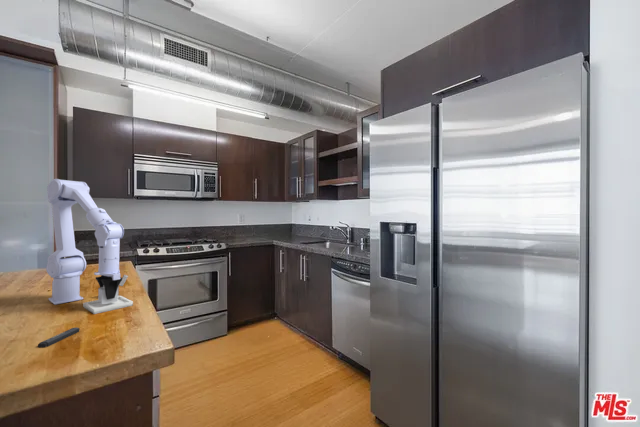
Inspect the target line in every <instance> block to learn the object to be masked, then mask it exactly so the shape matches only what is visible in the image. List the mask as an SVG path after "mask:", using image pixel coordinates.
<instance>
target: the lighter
mask: <svg viewBox="0 0 640 427" xmlns="http://www.w3.org/2000/svg"><path fill="white" fill-rule="evenodd" d="M128 277H129V275H126V274H123V276H122V277H121V278H122V281H121V282H120V284H119V286H118V296H120V295H119V294H120V293H119V290H120V288H119V287H123V286H124V284H125V283H126V281H127V280H128Z"/></svg>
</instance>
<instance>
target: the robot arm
mask: <svg viewBox="0 0 640 427" xmlns="http://www.w3.org/2000/svg"><path fill="white" fill-rule="evenodd" d="M46 189H47V196H48V197H47V199H48V202H49V203H50V204H51V212H52V220H53V230H54V238H55V239H54V241H55V248H56V249H55V251H54V252H52V253H51V254H50V255H49V256H47V263H46V267H45V268H46V273H47V274H48V276H50V278H51V279H52V278H53V279H52V284H51V297H49V298H47V299H48V301H49V302H50V303H52V304H53V305H60V304H65V303H69V302H70V303H71V302H75V301H81V300H84V297H83V296H81V295H80V292H81V291H80V288H81V286H80V284H81V283H80V282H81V281H80V280H81V275H83V272H84V271H85V270H86V268H87V261H86V258H85V256H84V252H83V251H81V250H80V249H78V248H76V241H75V240H76V239H75V232H74V222H73V211H72V207H73V206H74V205H77V204H78V205H79V206H80V207H81V208H82V209H83V210H84V211H85V212H86V215H85V219H87V221H88V222H89V224H90V225H91V226H92V228H93V229H94V230H95V231H94V237H95V239H96V245H97V246H98V271H95V272H93V275H94V276H96V277H95V280H96V281H97V283H98V286H99V288H101V287H103V285H104V288H105V293H106V298H107V299H113V298H115V295H116V292H117V288H118V286H119V284H120V282H121V281H122V277H121V273H120V272H121V271H120V248H121V247H120V246H121V243H120V241H121V239H123V237H124V236H125V235H124V234H125V228H124V227H123V225H122V223H119V222H118V223H117V222H116V221H114V220H113V219H112V218H111V216H110V215H109V214H108V213H107V211H106V210H105V208H101V207H98V206H97V204H96V203H95V201H94V200H93V197H92V196H91V194H90V189H91V188H90V187H89V185H88V184H87V183H86V182H85V181H77V180H68V179H67V180H66V179H59V178H54V179H52V180H50V181H49V184H47V187H46ZM119 287H120V286H119Z"/></svg>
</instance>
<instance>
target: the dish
mask: <svg viewBox="0 0 640 427" xmlns="http://www.w3.org/2000/svg"><path fill="white" fill-rule="evenodd" d="M82 304H83V305H82V306H83V308H84V309H85V310H87V311H88V312H90V313H91V314H93V315H96V314H101V313H106V312H109V311H110V312H111V311H115V310H119V309H123V308H127V307H132V306H133V305H134V301H133V300H131V299H128V298H126V297H124V296H123V295H119V296H118V300H117V301H116V302H111V303H107V304H100V303H98V299H95V300H91V301H90V300H89V301H86V302H83V303H82Z"/></svg>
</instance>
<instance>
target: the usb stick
mask: <svg viewBox="0 0 640 427" xmlns="http://www.w3.org/2000/svg"><path fill="white" fill-rule="evenodd" d="M79 332H80V328H79V327H72V328H70V329H68V330H65V331H63V332H60V333H58V334H56V335H54V336H52V337H50V338H47V339H45V340H43V341H41V342H39V343H38V344H37V347H38V348H47V347H50V346H53V345H54V344H56V343H58V342H59V343H60V341H62V340H65V339H67V338H70V337H71V336H73V335H76V334H77V333H79Z"/></svg>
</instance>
